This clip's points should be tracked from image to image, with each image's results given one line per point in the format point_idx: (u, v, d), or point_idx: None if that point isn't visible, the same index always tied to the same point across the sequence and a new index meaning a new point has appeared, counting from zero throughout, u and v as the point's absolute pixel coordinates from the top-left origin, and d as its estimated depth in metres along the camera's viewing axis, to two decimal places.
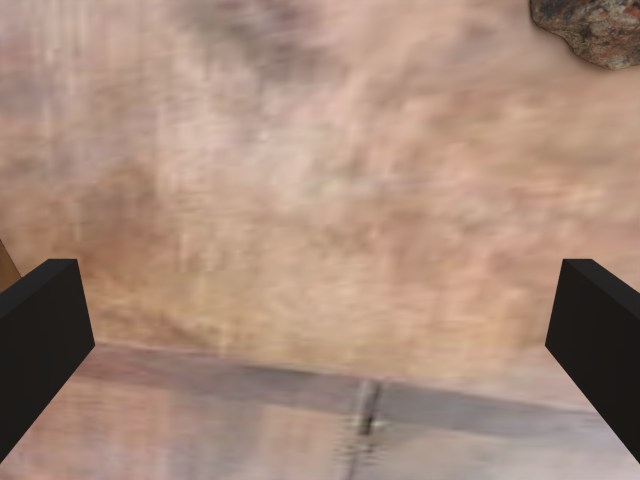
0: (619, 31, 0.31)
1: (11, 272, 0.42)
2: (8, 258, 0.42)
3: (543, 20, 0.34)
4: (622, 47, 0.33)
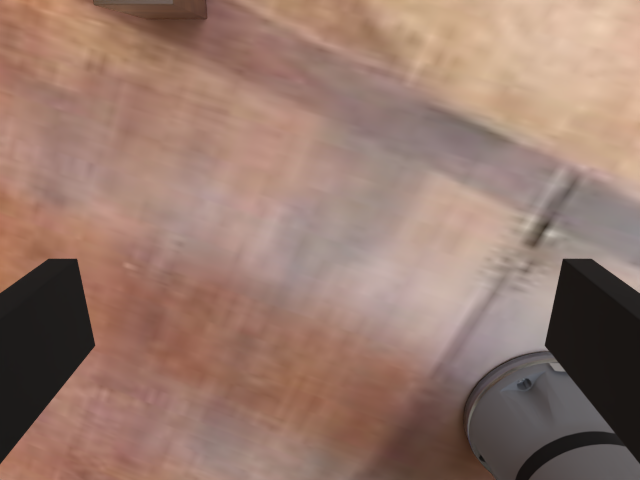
0: None
1: None
2: None
3: None
4: None
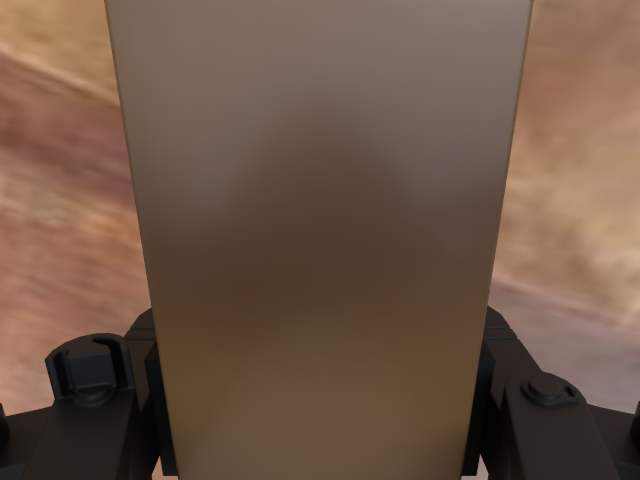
0: None
1: None
2: None
3: None
4: None
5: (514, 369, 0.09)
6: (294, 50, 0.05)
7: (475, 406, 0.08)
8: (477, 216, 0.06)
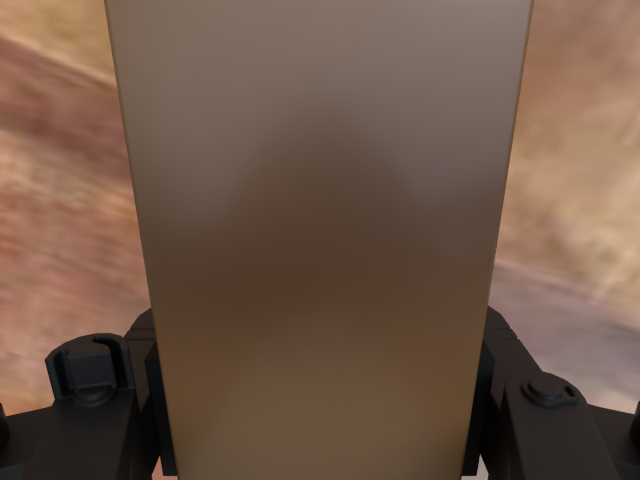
0: None
1: None
2: None
3: None
4: None
5: (514, 369, 0.09)
6: (294, 49, 0.05)
7: (475, 406, 0.08)
8: (477, 216, 0.06)
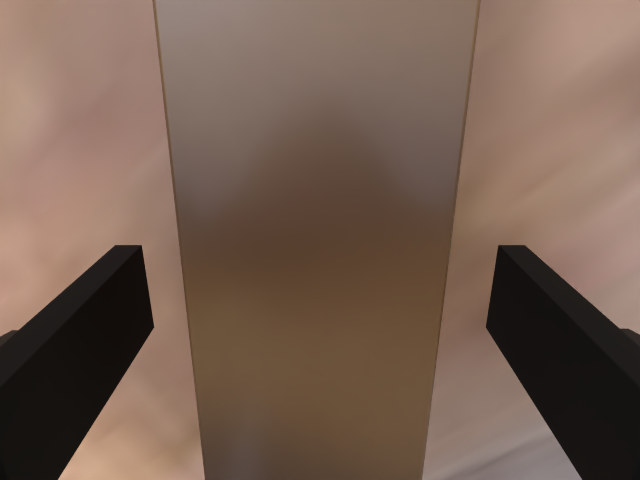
0: None
1: None
2: None
3: None
4: None
5: None
6: (297, 57, 0.07)
7: None
8: (438, 188, 0.07)
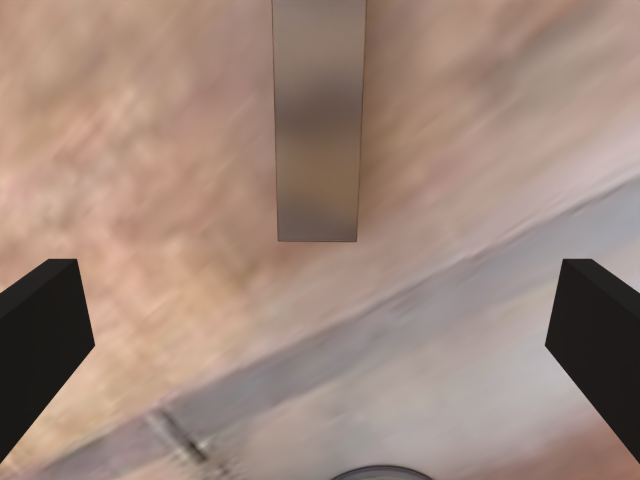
0: None
1: None
2: None
3: None
4: None
5: None
6: (313, 63, 0.23)
7: None
8: (356, 103, 0.24)
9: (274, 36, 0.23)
